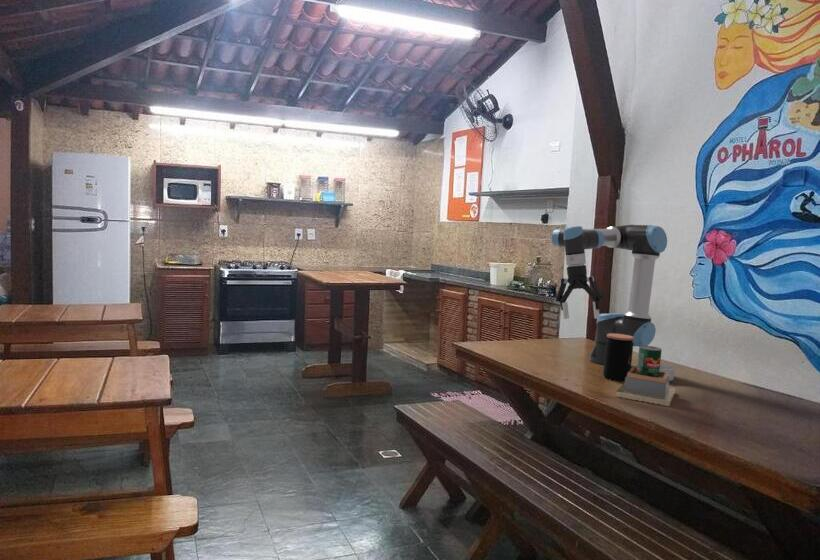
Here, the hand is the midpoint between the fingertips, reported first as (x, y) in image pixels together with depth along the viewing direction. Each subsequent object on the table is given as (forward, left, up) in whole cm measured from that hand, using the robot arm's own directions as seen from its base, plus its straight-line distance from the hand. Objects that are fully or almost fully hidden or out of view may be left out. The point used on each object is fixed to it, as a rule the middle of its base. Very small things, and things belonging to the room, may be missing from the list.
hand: (581, 318), depth 240 cm
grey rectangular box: (+5, +27, -25) cm, 37 cm away
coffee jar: (-15, +13, -25) cm, 32 cm away
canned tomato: (+5, +27, -18) cm, 33 cm away
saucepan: (-25, +25, -25) cm, 44 cm away
